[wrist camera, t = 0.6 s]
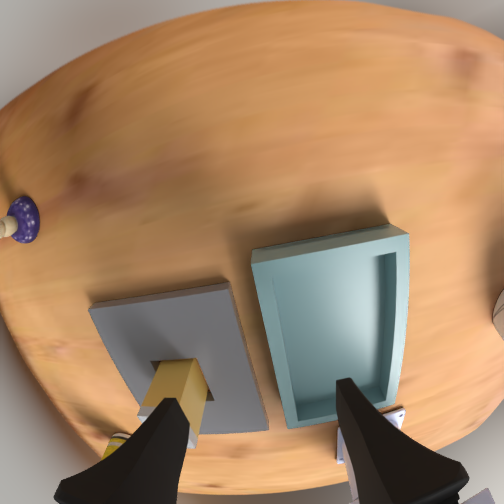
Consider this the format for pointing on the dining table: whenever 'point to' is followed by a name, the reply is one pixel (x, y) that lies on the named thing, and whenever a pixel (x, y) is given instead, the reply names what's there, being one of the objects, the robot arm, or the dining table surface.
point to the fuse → (178, 392)
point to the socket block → (186, 350)
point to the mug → (499, 315)
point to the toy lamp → (21, 221)
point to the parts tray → (335, 317)
